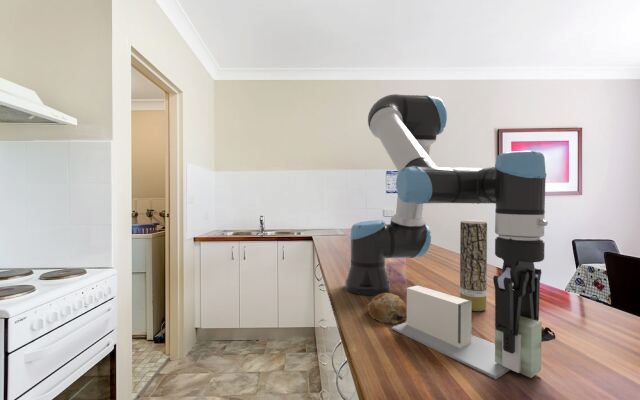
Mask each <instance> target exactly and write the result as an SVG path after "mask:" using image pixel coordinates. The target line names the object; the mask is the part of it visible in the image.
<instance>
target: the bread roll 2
mask: <svg viewBox="0 0 640 400" xmlns="http://www.w3.org/2000/svg"><path fill="white" fill-rule="evenodd" d="M554 339H556V334H555V332H554V331H552V330H551V327H546V326H542V328H541V343H543V342H547V341H551V340H552V341H553V340H554Z"/></svg>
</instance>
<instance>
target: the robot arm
mask: <svg viewBox="0 0 640 400" xmlns="http://www.w3.org/2000/svg"><path fill="white" fill-rule="evenodd" d="M447 114H448V113H447V107H446V105H445V104H444V101H443V100H442V99H441V98H440V97H438V96H432V95H426V94H425V95H415V94H397V93H396V94H388V95H385V96H383V97H381V98H379V99H378V100H377V101H376V102H375V103H373V105H372V107H371V108H370V110H369V112H368V114H367V115H368V116H367V125H368V127H369V130H370V132H371V134H372V135H373V136H374V137H375V138H377V139H379V141H380V142H381V144H382V146H383V148H384V149H385V152H386V153H387V154H388V156H389V158H390V160H391V161H392V163H393V166H394V167H395V168H396V170H397V171H398V173H397V176H396V182H395V188H396V190H397V191H396V193H397V198H396V210H395V214H393V216H391V217H390V223H388V224H387V223H386V221H385V220H381V219H377V220H375V219H374V220H367V221H366V220H365V221H360V222H356V223H354V224H353V225H352V226H351V228H350V229H351V230H350V237H349V239H350V267H349V271H348V274H347V278H346V279H345V290H346V291H348V292H349V293H352V294H356V295H362V296H377V295H379V294H381V293H390V291H391V283H390V280H389V278H388V274H387V271H386V267H385V265H386V264H385V263H386V259H405V258H406V259H414V258H420V257H423V256H424V255H426V254H427V253H428V251H429V249H430V247H431V243H432V235H431V228H430V227H429V226H428V225H427V224H426V223H427V222H426V220H425V219H424V218H423V217H422V216H423V209H424V208H423V207H424V205H425V204H478V205H479V204H495V208H494V210H495V214H494V215H495V217H494V218H495V219H494V233H495V235H498V236H496V237H495V239H494V255H495V257H497V258H499V259H502V260H503V262H502V268H501V274H500V275H496V274H495V275H493V285H494V315H495V316H494V320H495V321H494V329H495V328H496V330H498V331H501V332H503V339H502V366H504V367H506V368H508V369H511V370H510V371H513V372H515V373H517V374H520V373H519V372H521V335H520V334H518V330H519V320H520V316H523V317H526V318H529V319H533V320H536V321H539V320H540V319H539V317H540V290H541V289H540V287H541V277H542V269H541V268H537V267H535V263H540V262H543V261H544V260H545V241H544V240H543V239H542V238H543V237H544V236H545V227H546V226H548V224H549V223H548V221H547V220H545V213H546V211H545V208H546V206H545V204H546V178H547V172H546V160H545V155H544V154H543V153H542V152H540V151H536V150H518V151H517V150H516V151H506V152H502V153H500V154H498V155H497V156H496V158H495V164H494V166H491V167H441V166H440V167H439V166H437V165H436V164H435V162H434V161H433V160H432V159H431V157H430V151H431V145H432V144H434V143H435V142H436V141H437V136H438V135H440V134H442V133H443V132H444V129H445V128H446V126H447V120H448V119H447V118H448V115H447Z"/></svg>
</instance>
